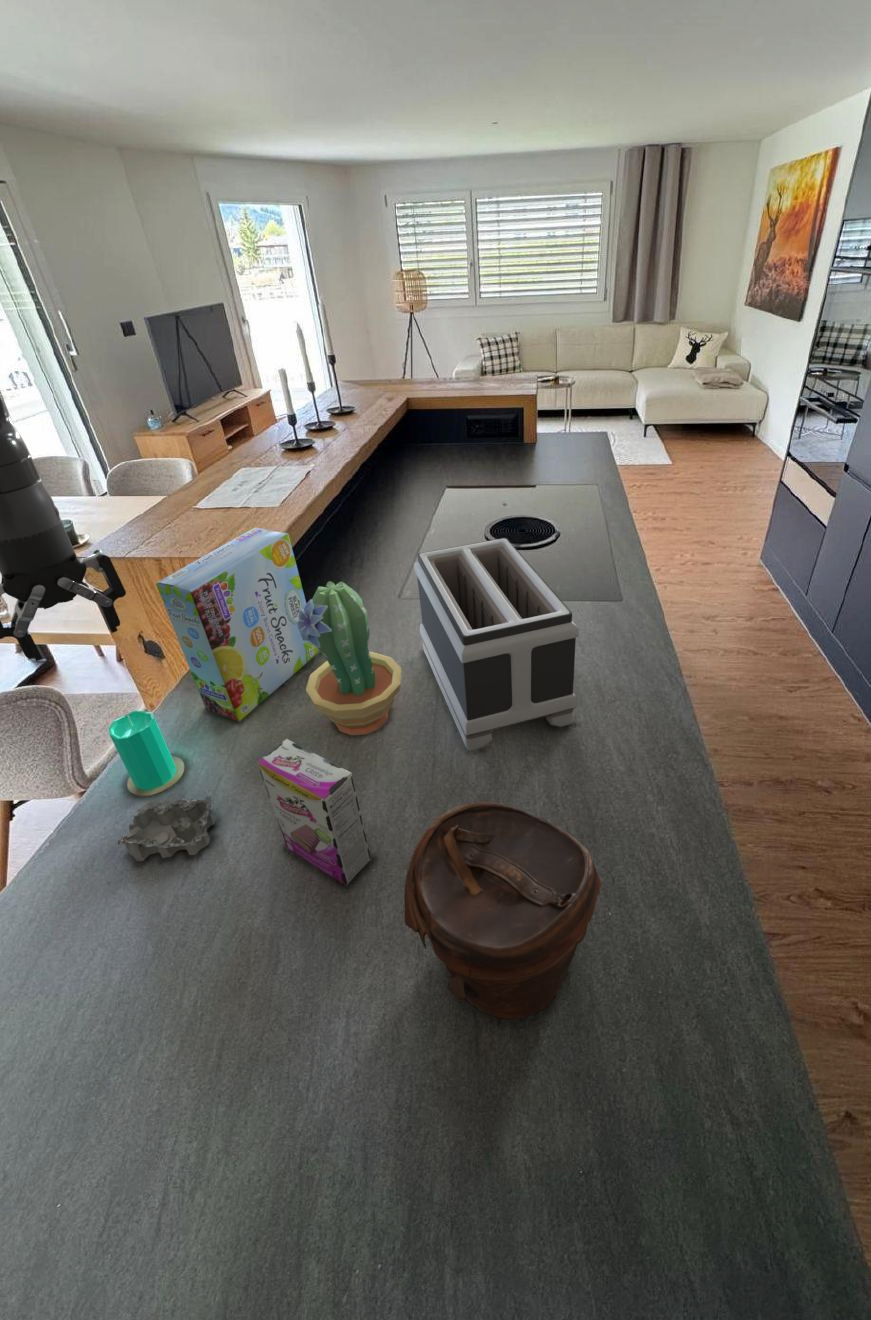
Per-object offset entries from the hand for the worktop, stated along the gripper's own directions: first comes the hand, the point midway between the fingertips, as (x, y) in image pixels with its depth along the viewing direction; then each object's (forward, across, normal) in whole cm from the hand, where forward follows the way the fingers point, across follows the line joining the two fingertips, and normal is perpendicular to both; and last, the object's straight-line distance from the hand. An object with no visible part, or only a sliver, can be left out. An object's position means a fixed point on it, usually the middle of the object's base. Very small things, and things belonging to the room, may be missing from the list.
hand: (76, 643), depth 77 cm
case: (+26, -20, +55) cm, 64 cm away
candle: (+26, -2, -2) cm, 26 cm away
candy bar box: (+26, -13, +30) cm, 42 cm away
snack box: (+26, -25, -11) cm, 38 cm away
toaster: (+26, -54, +18) cm, 62 cm away
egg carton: (+26, 0, +12) cm, 29 cm away
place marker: (+26, -2, -2) cm, 26 cm away
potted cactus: (+26, -32, +10) cm, 42 cm away
